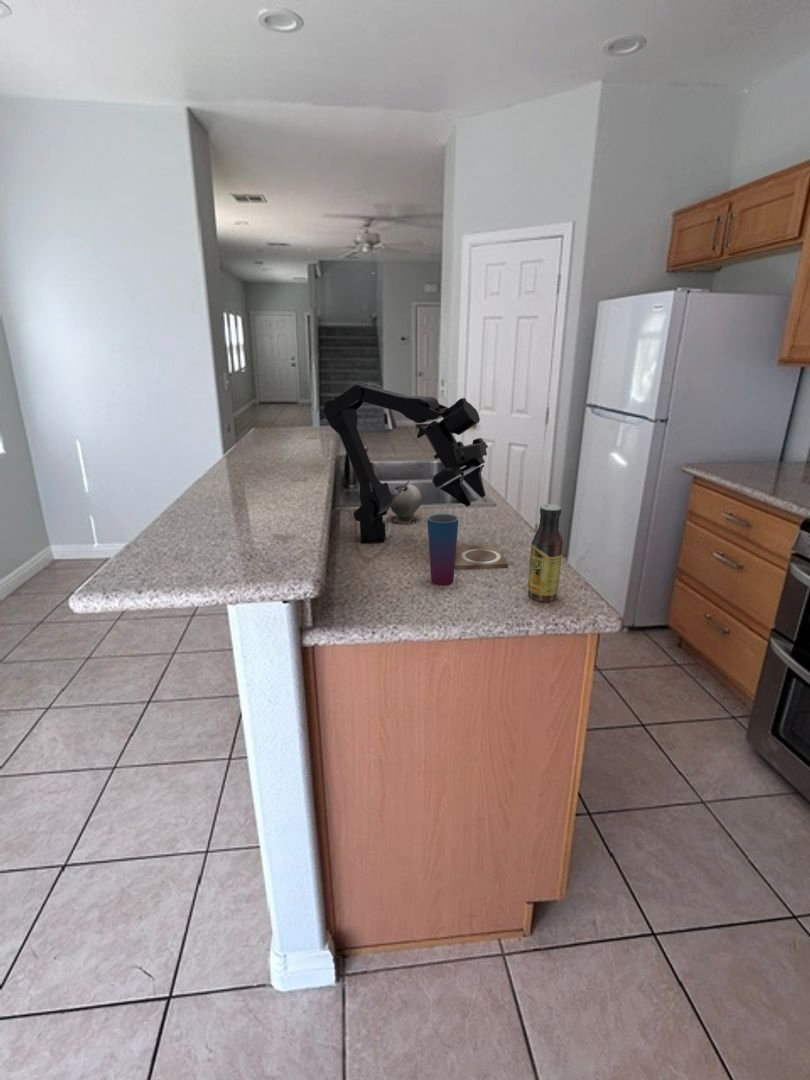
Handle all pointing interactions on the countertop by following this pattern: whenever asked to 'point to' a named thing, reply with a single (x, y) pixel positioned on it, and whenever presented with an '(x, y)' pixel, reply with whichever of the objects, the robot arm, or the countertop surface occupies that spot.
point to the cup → (442, 547)
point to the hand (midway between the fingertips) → (476, 501)
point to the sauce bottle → (546, 556)
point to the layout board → (479, 557)
